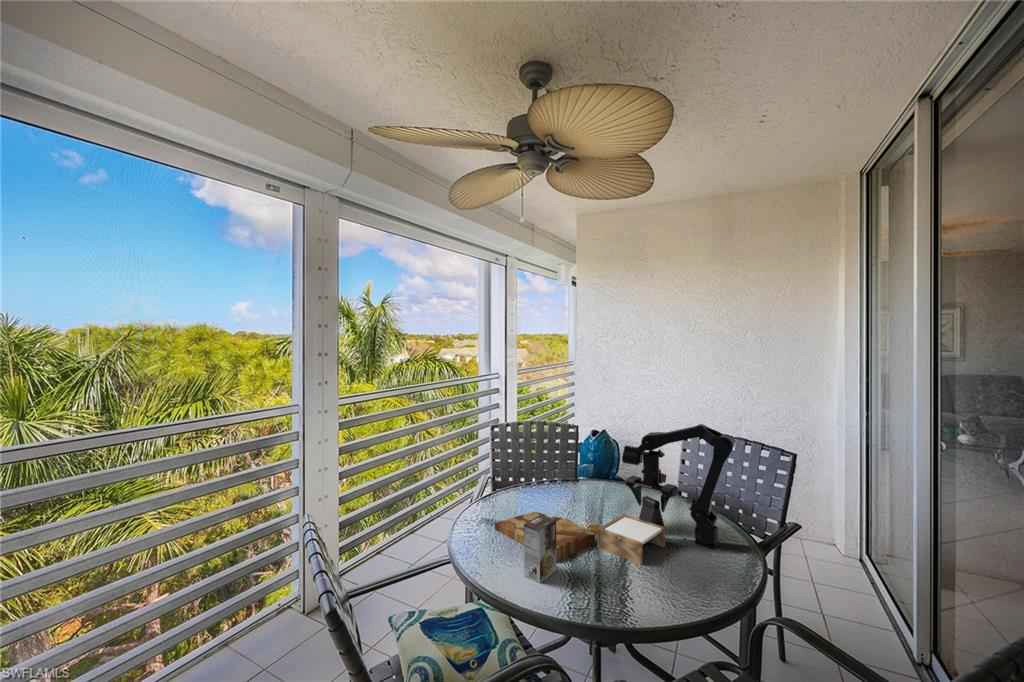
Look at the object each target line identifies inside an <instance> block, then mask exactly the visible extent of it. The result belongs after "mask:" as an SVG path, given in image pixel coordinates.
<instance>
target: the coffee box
mask: <svg viewBox="0 0 1024 682" xmlns="http://www.w3.org/2000/svg"><path fill="white" fill-rule="evenodd" d="M549 517H550V516H549ZM549 517H546V516H543V515H539V516H537V517H536V518H534V519H532V520H530V521H529V522H527V523H525V524H524V546H523V577H524V578H527V579H530V580H533V581H534V582H536V583H539V584H542V582H544V581H546V579H548V578H549V577H550V576H551V575H553V574H554V573H556V572H557V571H558V569H557V562H558V561H557V557H556V520H554V519H551V518H549Z"/></svg>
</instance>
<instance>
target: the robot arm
mask: <svg viewBox="0 0 1024 682" xmlns="http://www.w3.org/2000/svg"><path fill="white" fill-rule="evenodd" d="M696 438H700V439H702V440H703V441H704V442H705V443H707V444H709V445H710V446H712V447H713V451H712V460H711V463H710V467H709V469H708V472H707V475H706V478H705V481H704V484H703V487H702V490H701V492H700V495H698V494H697V493H696V494H695V495H694V497H693V498H692V501H691V505H690V507H689V508H688V510H689V511H690V517H691V519H692V520H693V521H694V522H695V525H696V526H695V527H694V539H695V540H694V541H693V543H694V544H697V545H699V546H703V547H706V548H709V549H714V548H716V547H717V546H718V545H719V544H720V541H719V540H718V537H719V534H718V533H719V532H718V531H719V530H718V529H719V528H718V526H717V525H716V524H717V521H718V516H717V515H716V514H715V513H714V512H713V511H712V507H713V496H714V493H715V491H716V488H717V485H718V482H719V479H720V476H721V474H722V470H723V468H724V466H725V462H726V461H727V459H728V458H729V456H730V454H731V452H732V451H733V449H734V447H735V446H736V441H735V439H734V438H733V437H732V435H730V434H729V433H728V434H727V433H721V432H720V431H718V430H716V429H713V428H710V427H708V426H707V425H705V424H702V423H700V424H697V425H694V426H690V427H689V426H688V427H685V428H680V429H675V430H671V431H665V432H663V431H654V432H652V431H651V432H648V433H647V434H645V435H644V436H643V437H641V444H639V446H631V445H624V446H623V447H624V448H623V452H622V456H621V460H622V463H623V464H626V465H627V464H628V465H633V466H639V465H640V464H642V466H643V467H642V469H641V474H643V475H642V477H641V476H637V475H631V476H628V477H627V478H626V479H625V486H626V487H628V489H630V491H631V492H632V494H633V496H634V497H635V500H636V502H637V504H638V506H642V488H643V487H645V488H649V489H652V490H656V491H660V493H661V495H660V511H661V513H665V510H666V507H667V505H668V503H669V500H670V498H674V497H675V496H676V495H678V494H679V488H678V486H677V485H675V484H670V483H667V484H666V481H667V474H665V473H662V470H661V469H660V458H664V456H665V453H664V452H663V451H662V449H659V448H662V447H664V446H666V445H668V444H672V443H677V442H682V441H686V440H691V439H696ZM656 449H658V450H656ZM642 478H643V479H642ZM663 483H664V484H665V485H662V484H663Z"/></svg>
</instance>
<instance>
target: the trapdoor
mask: <svg viewBox="0 0 1024 682" xmlns="http://www.w3.org/2000/svg"><path fill="white" fill-rule="evenodd" d="M604 530H607V531H610V532H612V533H615V534H618V535H621V536H624V537H626V538H629V539H632V540H635V541H638V542H640V543H642V546H643V545H644V544H646V543H647V541H649V540H650V539H652V538H653V537H654V536H656V535H657V534H659V533H660V532H662V529H661V528H658V527H655V526H652V525H649V524H646V523H643V522H640V521H636V520H633V519H630V518H627V517H624V518H623V519H621V520H619V521H617V522H616V523H614V524H612V525H610V526H609V527H607V528H605V529H604Z"/></svg>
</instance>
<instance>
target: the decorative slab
mask: <svg viewBox="0 0 1024 682" xmlns="http://www.w3.org/2000/svg"><path fill="white" fill-rule="evenodd" d="M539 515H543V516H546V517H549V518H551V519H554V520H556V557H557V562H559V561H561V560H562V559H564V558H567V557H569V556H571V555H574V554H576V553H578V552H580V551H582V550H585V549H586V548H589V547H590V546H593V545H595V544H596V534H595V533H594V532H593V531H592V530H591V529H589V528H586V527H583V526H580V525H578V524H577V523H575V522H573V520H571V519H569V518H562V517H559V516H550V515H549V516H548V515H547V514H545V513H541V512H538V511H532V512H529V513H526V514H525V513H524V514H521V515H517V516H514V517H510V518H508V519H506V520H501V521H500V520H499V521H496V522H494V531H496V532H498V531H499V532H498V533H500V532H501V533H500V534H502V535H504V536H505V535H506V536H505V537H506V538H507V537H508V538H509V539H511V540H512V539H513V541H514V542H516V543H518V544H519V543H520V544H519V545H521V546H523V547H524V524H525V523H527V522H529V521H530V520H532V519H534V518H536V517H537V516H539Z"/></svg>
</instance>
